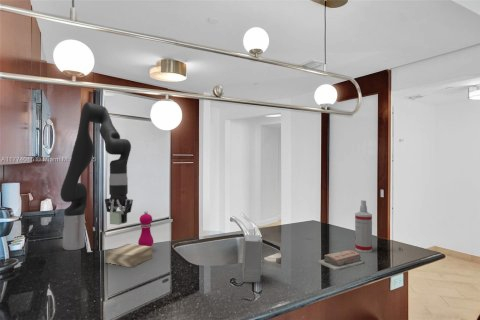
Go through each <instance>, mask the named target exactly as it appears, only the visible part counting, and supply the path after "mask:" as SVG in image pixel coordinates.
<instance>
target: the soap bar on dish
mask: <svg viewBox="0 0 480 320" xmlns="http://www.w3.org/2000/svg"><path fill="white" fill-rule="evenodd" d="M361 258H362V257H361V254H360V253H359V251H355V250H352V249H348V250H342V251H337V252H332V253H327V254H324V256H323V259H321V260H319V259H318V263H319V265H322V266H325V267H326V268H329V269H331V270H334V271H339V270H341V269H346V268H347V269H348V268H351V267H354V266H358V265H361V264H365V260H361Z"/></svg>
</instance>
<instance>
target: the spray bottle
mask: <svg viewBox="0 0 480 320" xmlns="http://www.w3.org/2000/svg"><path fill="white" fill-rule="evenodd" d="M354 215H355V217H354V219H355V220H354V221H355V223H354V225H355V226H354V227H355V229H354V234H355V235H354V237H355V238H354V240H355V241H354V242H355V243H354V244H355V245H354V248H355V250H356V252H360V253H372V252H373V213H370V212H368V206H367V201H366V200H361V201H360V207H359V211H358V212H356V213H354ZM355 250H354V251H355Z"/></svg>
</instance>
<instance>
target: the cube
mask: <svg viewBox="0 0 480 320" xmlns="http://www.w3.org/2000/svg"><path fill="white" fill-rule="evenodd" d="M121 215H122V213H121V210H116V211H115V212H109V225H117V226H119V225H123V224H126V223H128V220H127V221H126V222H125V223H121Z"/></svg>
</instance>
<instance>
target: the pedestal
mask: <svg viewBox="0 0 480 320" xmlns="http://www.w3.org/2000/svg"><path fill="white" fill-rule="evenodd" d="M153 248H154V247H153V245H152V246H143V245H139V244H132V243H127V244H124V245H121V246H118V247H116V248H113V249H110V250H107V251H106V252H105V263H106V262H107V263H111V264H110V265H112V264H116V265H115V266H119V265H121V266H120V267H127V268H133V267H136V266H138V265H140V264H142V263H144V262H145V261H148V260H150V259H153V253H154V251H153Z"/></svg>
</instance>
